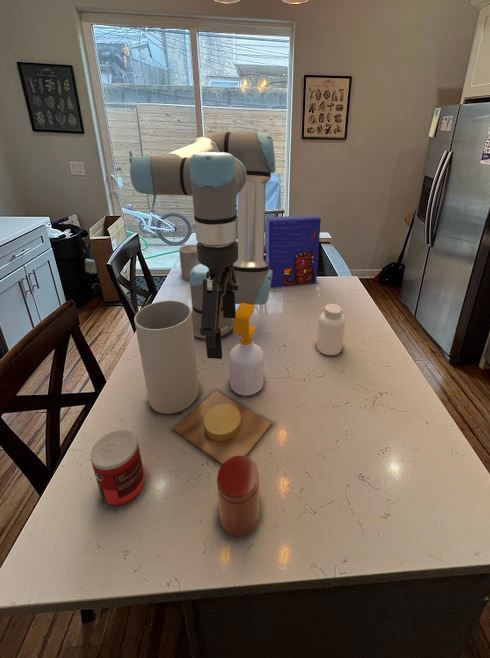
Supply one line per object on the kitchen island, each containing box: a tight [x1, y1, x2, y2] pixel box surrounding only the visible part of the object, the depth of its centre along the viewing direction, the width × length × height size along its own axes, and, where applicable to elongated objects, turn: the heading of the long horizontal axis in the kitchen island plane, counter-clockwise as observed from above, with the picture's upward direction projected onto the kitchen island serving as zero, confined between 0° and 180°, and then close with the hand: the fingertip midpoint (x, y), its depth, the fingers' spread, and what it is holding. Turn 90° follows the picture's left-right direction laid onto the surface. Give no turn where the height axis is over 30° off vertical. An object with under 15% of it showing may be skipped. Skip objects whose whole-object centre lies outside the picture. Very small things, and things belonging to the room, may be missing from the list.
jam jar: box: [216, 456, 260, 537], centre depth 59 cm, size 7×7×11 cm
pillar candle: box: [178, 244, 201, 282], centre depth 148 cm, size 10×10×15 cm
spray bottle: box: [228, 303, 265, 397], centre depth 86 cm, size 9×9×25 cm
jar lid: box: [204, 404, 241, 441], centre depth 77 cm, size 9×9×2 cm
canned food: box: [90, 429, 146, 506], centre depth 63 cm, size 8×8×11 cm
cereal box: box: [265, 214, 322, 289], centre depth 141 cm, size 22×6×30 cm, turn 104°
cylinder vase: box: [133, 299, 200, 415], centre depth 81 cm, size 12×12×25 cm
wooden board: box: [173, 390, 272, 466], centre depth 77 cm, size 18×14×1 cm
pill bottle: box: [316, 303, 346, 356], centre depth 102 cm, size 8×8×15 cm
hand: (222, 335), depth 69 cm, fingers open, 13 cm apart
